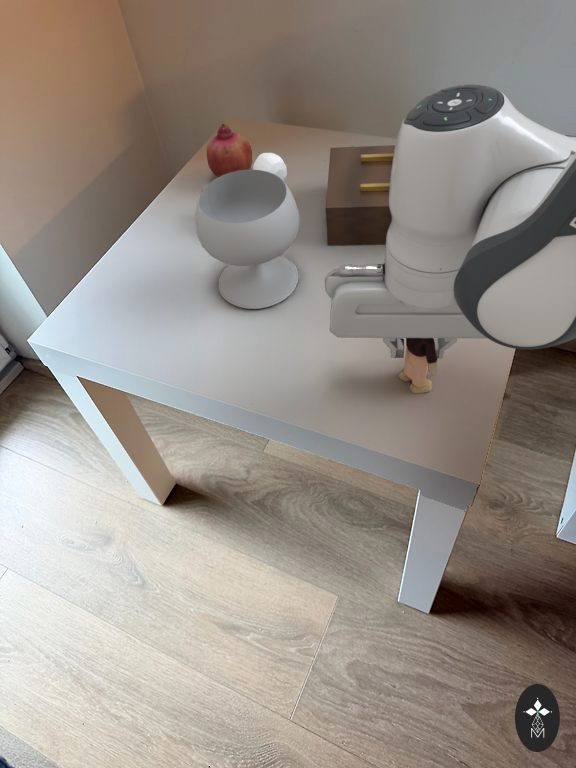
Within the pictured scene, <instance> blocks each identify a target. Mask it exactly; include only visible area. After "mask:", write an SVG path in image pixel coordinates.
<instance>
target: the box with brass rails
mask: <svg viewBox="0 0 576 768" xmlns="http://www.w3.org/2000/svg"><path fill="white" fill-rule="evenodd" d="M395 145H396V144H391V145H388V144H387V145H365V146H364V145H363V146H342V147H341V146H340V147H330V149H329V161H328V176H327V187H326V199H325V200H326V201H325V220H326V242H327V243H326V244H327V245H326V246H364V245H365V246H369V245H386V237H387V232H388V229H389V226H390V224H391V221H392V215H391V212H390V208H389V189H390V178H391V170H392V163H393V156H394V150H395Z"/></svg>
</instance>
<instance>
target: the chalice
mask: <svg viewBox="0 0 576 768" xmlns="http://www.w3.org/2000/svg"><path fill="white" fill-rule="evenodd" d="M194 217H195V229H196V235H197V239H198V241H199V244H200V246H201V247H202V248H203V250H205V252H206V253H207V254H208V255H209V256H210V257H212V258H213V259H216V260H217V261H218V262H220V263H224V264H225V265H227V266H225V268H224V269H223V271H222V272H221V274H220V276H219V279H218V290H219V293H220V295H221V296H222V297H223V298H224V300H226V301H227V302H228V303H229V304H231V305H233V306H236V307H239V308H243V309H249V310H250V309H252V310H253V309H254V310H256V309H257V310H258V309H263V308H264V309H265V308H268V307H271V306H274V305H277V304H279V303H281V302H282V301H285V300H286V299H287V298H288V297H290V295H292V293H293V292H294V291H295V289H296V288H297V285H298V283H299V276H300V275H299V271H298V269H297V267H296V265H295V263H293V262H292V261H291V259H289V258H287V257H285V256H284V255H282V254H284V253H285V252H286V251H287V250H288V249H289V248H290V247H291V245H292V244H293V243H294V242H295V240H296V237H297V235H298V233H299V229H300V213H299V210H298V206H297V203H296V200H295V197H294V194H293V193H292V191H291V189H290V188H289V187H288V185H287V184H286V183H285V181H283V180H282V179H280V178H279V177H278V176H276V175H275V174H272V173H269V172H267V171H262V170H253V169H249V170H239V171H235V172H230V173H228V174H225V175H222V176H220V177H218V178H217V177H215V178H214V179H213V180H211V181H210V182H209V183H207V184H206V186H205V187H204V188H202V191H201V193H200V195H199V196H198V199H197V203H196V208H195V216H194Z"/></svg>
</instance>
